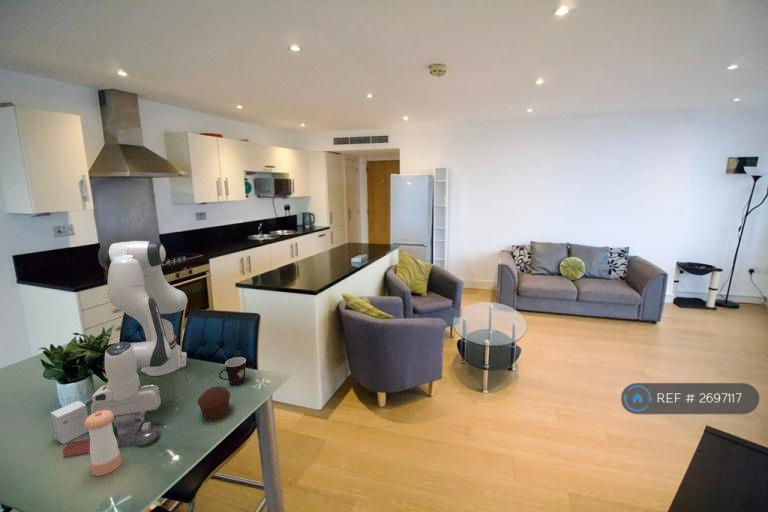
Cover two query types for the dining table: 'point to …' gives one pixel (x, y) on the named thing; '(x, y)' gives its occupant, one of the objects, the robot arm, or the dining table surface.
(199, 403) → the muffin
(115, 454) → the pepper shaker
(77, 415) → the small box
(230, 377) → the coffee mug
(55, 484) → the dining table surface
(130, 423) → the light grey cube
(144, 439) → the ratchet
